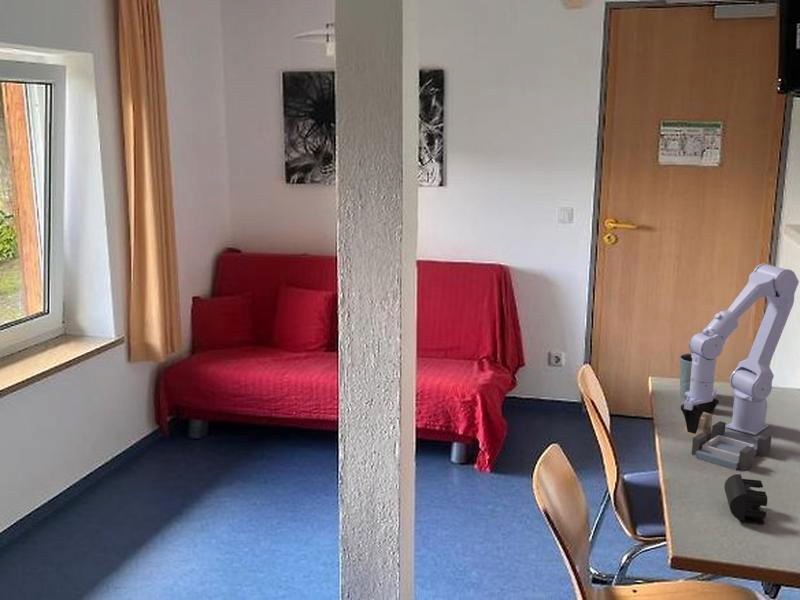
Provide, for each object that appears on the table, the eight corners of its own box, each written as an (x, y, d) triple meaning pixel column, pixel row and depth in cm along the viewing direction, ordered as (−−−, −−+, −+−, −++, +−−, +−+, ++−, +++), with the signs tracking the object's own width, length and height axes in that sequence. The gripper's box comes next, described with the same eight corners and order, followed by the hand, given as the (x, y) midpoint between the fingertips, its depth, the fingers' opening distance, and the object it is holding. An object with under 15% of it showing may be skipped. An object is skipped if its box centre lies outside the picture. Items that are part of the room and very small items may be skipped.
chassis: (720, 435, 218) (721, 419, 217) (771, 449, 209) (773, 433, 208) (689, 455, 206) (690, 439, 205) (742, 471, 197) (744, 454, 196)
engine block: (692, 429, 223) (694, 409, 222) (710, 434, 220) (712, 414, 218) (683, 434, 220) (685, 414, 218) (702, 439, 216) (704, 419, 215)
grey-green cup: (714, 403, 242) (718, 364, 239) (677, 400, 244) (681, 361, 241) (710, 392, 251) (713, 354, 248) (675, 389, 254) (678, 351, 251)
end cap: (722, 500, 183) (725, 472, 181) (757, 504, 181) (760, 475, 179) (728, 522, 173) (731, 492, 172) (764, 526, 172) (768, 496, 170)
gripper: (699, 369, 224) (695, 417, 227) (674, 382, 214) (670, 432, 217) (725, 375, 219) (720, 424, 222) (701, 388, 209) (696, 439, 212)
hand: (697, 428), depth 219 cm, fingers open, 6 cm apart
